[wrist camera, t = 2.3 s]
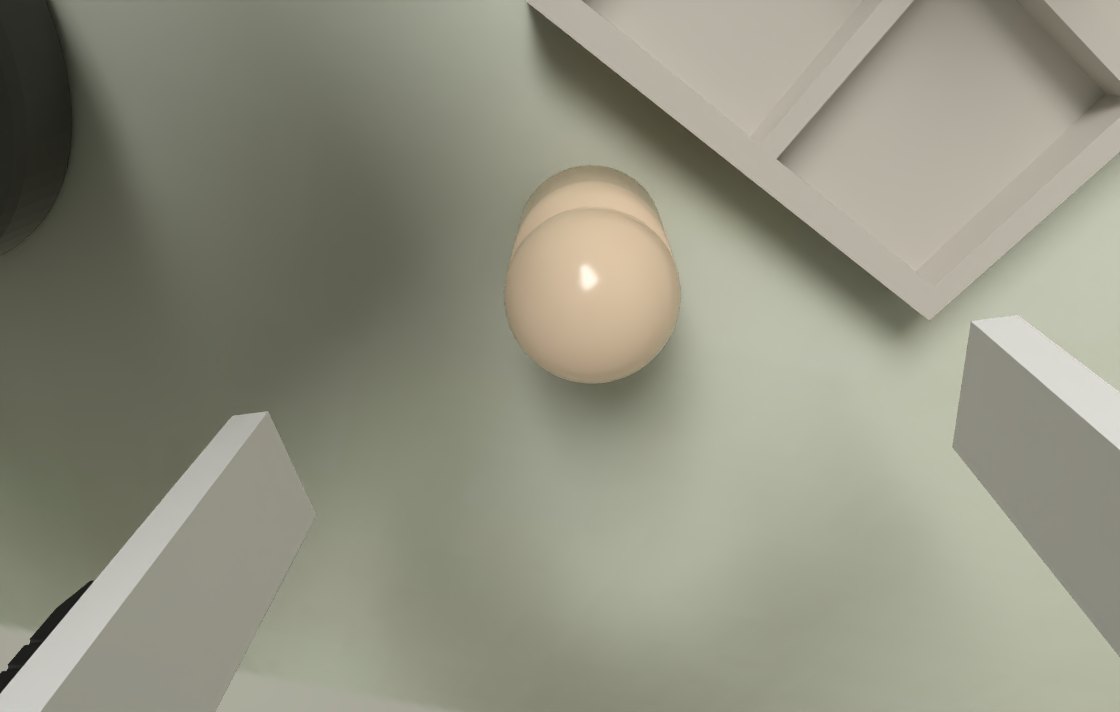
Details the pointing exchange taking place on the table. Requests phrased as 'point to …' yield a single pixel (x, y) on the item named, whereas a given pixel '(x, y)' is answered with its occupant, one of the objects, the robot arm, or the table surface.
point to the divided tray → (883, 113)
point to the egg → (591, 277)
